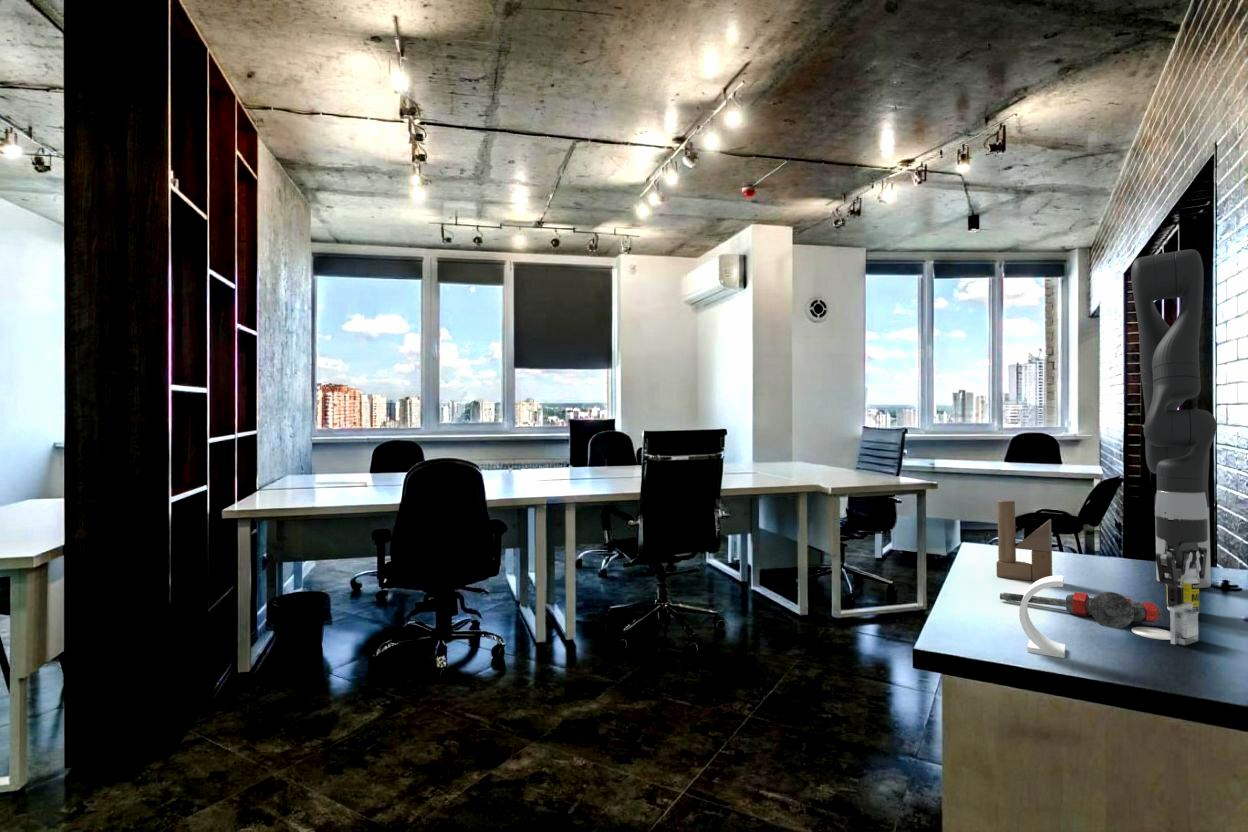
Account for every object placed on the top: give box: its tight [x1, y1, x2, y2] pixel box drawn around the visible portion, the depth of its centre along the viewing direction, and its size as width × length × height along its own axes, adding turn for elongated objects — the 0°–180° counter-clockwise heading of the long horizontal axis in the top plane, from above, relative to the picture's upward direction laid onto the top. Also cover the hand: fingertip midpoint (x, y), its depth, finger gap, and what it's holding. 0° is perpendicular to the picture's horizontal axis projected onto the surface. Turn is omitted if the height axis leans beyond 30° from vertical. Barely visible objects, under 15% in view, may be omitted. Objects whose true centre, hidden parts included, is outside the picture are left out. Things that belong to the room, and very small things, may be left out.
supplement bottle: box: [1166, 567, 1200, 614], centre depth 126 cm, size 5×5×8 cm
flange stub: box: [1169, 602, 1199, 646], centre depth 110 cm, size 6×2×6 cm, turn 117°
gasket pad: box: [1131, 626, 1171, 641], centre depth 114 cm, size 6×6×1 cm
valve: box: [999, 591, 1163, 629], centre depth 128 cm, size 6×26×15 cm
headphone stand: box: [1018, 575, 1066, 659], centre depth 108 cm, size 5×6×12 cm
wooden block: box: [995, 499, 1053, 583], centre depth 154 cm, size 4×11×18 cm, turn 50°
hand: (1182, 604), depth 126 cm, fingers closed on supplement bottle, 4 cm apart
